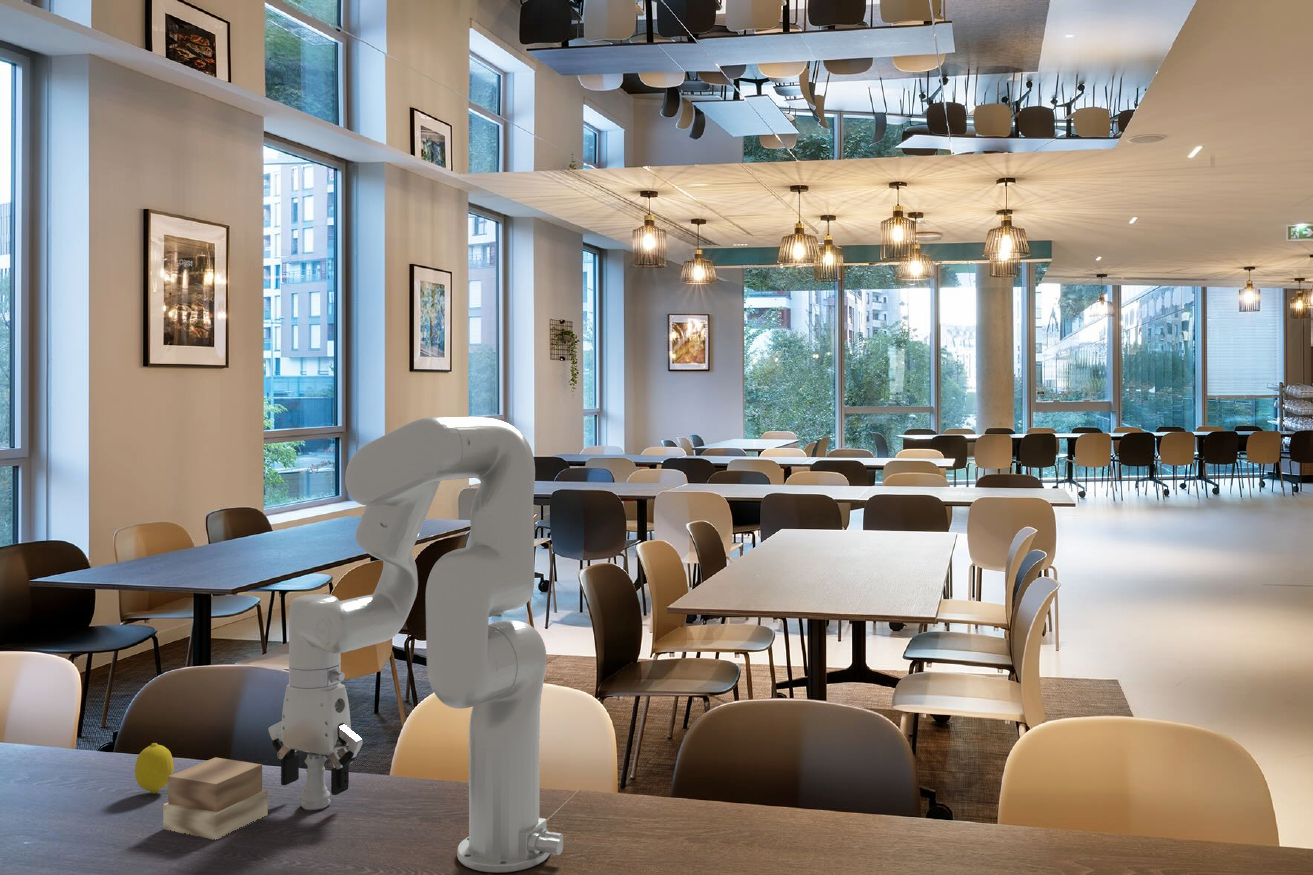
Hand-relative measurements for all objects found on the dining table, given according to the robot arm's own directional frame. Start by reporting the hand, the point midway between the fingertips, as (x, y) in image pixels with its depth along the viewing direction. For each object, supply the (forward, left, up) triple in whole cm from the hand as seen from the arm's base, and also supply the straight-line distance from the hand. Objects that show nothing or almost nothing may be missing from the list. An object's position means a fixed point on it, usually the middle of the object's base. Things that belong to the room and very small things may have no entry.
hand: (314, 787), depth 159 cm
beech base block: (+9, +11, -3) cm, 14 cm away
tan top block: (+9, +11, +1) cm, 14 cm away
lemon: (+27, +6, -3) cm, 28 cm away
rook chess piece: (0, 0, -3) cm, 3 cm away
